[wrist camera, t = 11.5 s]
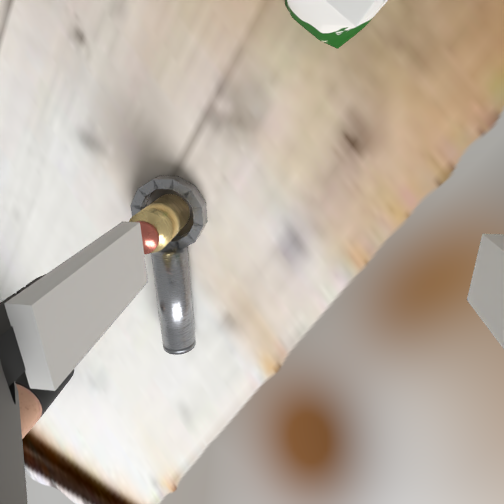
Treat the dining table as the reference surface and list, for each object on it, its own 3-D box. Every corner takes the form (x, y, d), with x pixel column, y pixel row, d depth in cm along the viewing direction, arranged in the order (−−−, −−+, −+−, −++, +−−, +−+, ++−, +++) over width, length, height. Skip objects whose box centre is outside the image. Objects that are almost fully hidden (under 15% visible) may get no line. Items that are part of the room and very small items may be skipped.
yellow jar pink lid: (152, 193, 49) (116, 216, 40) (188, 194, 48) (160, 217, 39) (156, 228, 51) (123, 257, 42) (191, 230, 50) (165, 260, 41)
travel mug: (63, 389, 65) (-34, 506, 47) (25, 363, 64) (-90, 472, 46) (84, 365, 62) (-11, 479, 44) (44, 336, 61) (-69, 442, 43)
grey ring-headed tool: (133, 175, 48) (117, 183, 44) (204, 176, 47) (194, 184, 43) (155, 332, 57) (142, 351, 53) (214, 337, 56) (206, 357, 52)
